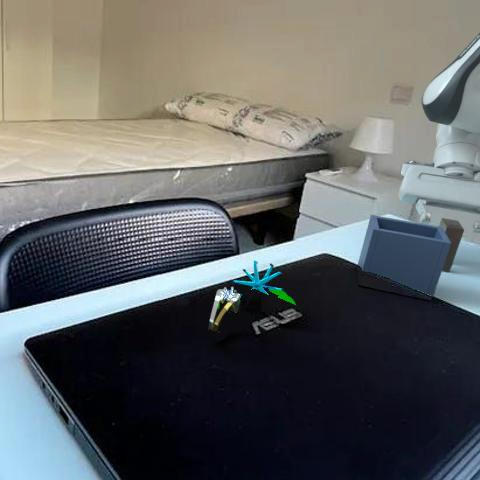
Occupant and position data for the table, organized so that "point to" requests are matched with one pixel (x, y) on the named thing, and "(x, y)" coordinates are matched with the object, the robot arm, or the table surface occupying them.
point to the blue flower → (260, 284)
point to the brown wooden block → (451, 240)
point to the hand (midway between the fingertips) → (451, 227)
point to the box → (405, 252)
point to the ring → (232, 302)
